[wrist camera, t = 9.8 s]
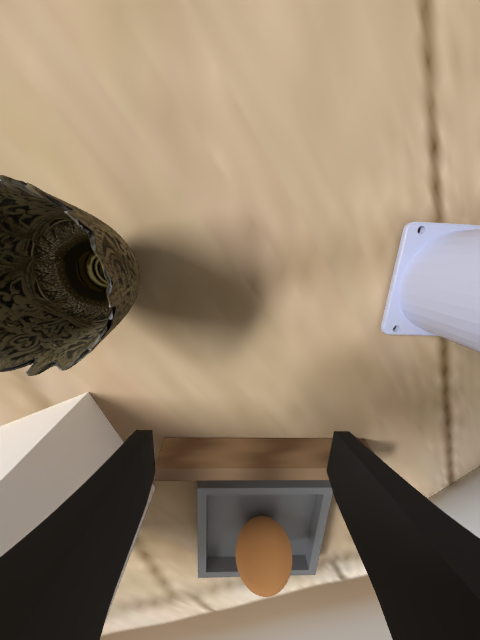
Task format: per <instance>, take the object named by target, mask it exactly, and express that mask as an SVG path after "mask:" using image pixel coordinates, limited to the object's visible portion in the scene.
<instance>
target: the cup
mask: <svg viewBox="0 0 480 640" xmlns="http://www.w3.org/2000/svg"><path fill="white" fill-rule="evenodd" d="M0 180H1V181H0V372H6V371H11V370H15V369H19V368H22V367H25V366H27V365H32V363H33V365H32V366H31V367H30V369H29V370H28V371H26V373H27V375H28V376H33V375H37V374H40V373H42V372H44V371H45V370H47V369H49V368H50V367H52V366H57V367H58V368H59V370H67V369H69V368H71V367H72V366H74V365H75V364H77V363H78V362H79V361H80V360H82V359H83V358H84V357H85V356H86V355H87V354H89V353H90V352H91V351H92V350H93V349H94V348H95V347H96V346H97V345H98V344H99V343H100V342H101V341H102V340H103V339H104V338H105V337H106V336H107V335H108V334H109V333H110V332H111V331H112V330H113V329H114V328H115V327H116V326H117V325H118V324H119V323H120V322H121V321H122V319H123V318H124V317H125V316H126V314H127V313H128V312H129V310H130V309H131V307H132V306H133V304H134V301H135V299H136V297H137V294H138V289H139V271H138V266H137V262H136V260H135V257H134V255H133V253H132V251H131V249H130V248H129V246H128V245H127V243H126V242H125V241H124V240H123V238H122V237H121V236H120V235H119V234H118V233H117V232H116V231H114V230H113V229H112V228H111V227H110V226H108V225H107V224H105V223H104V222H102V221H101V220H99V219H98V218H96V217H94V216H92V215H91V214H89V213H87V212H85V211H83V210H81V209H79V208H77V207H75V206H73V205H71V204H69V203H67V202H65V201H62V200H60V199H58V198H56V197H54V196H52V195H50V194H47V193H45V192H43V191H42V190H40V189H39V188H37V187H35V186H33V185H32V184H29V183H25V182H23V181H18V180H15V179H12V178H10V177H7V176H4V175H0ZM99 263H101V265H102V268H103V272H104V276H105V278H106V279H104V278H103V277H102V276H101V274H100V273H99V269H98V266H99Z"/></svg>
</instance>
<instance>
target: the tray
mask: <svg viewBox="0 0 480 640" xmlns="http://www.w3.org/2000/svg"><path fill="white" fill-rule="evenodd" d="M332 495H333V490H332V487H331V484H330V481H329V480H210V481H198V485H197V529H198V578H208V577H240V574H239V572H238V569H237V564H236V556H235V553H236V543H237V539H238V536H239V533H240V531H241V529H242V528H243V526H244V525H245V524H246V523H247V522H248V521H249V520H250V519H252V518H254V517H257V516H267V517H270V518H272V519H274V520H275V521H276V522H278V523H279V524H280V525H281V527H282V528H283V529H284V531H285V532H286V534H287V536H288V539H289V541H290V545H291V550H292V568H291V573H290V575H315V574H316V569H317V564H318V560H319V555H320V550H321V546H322V541H323V536H324V532H325V527H326V522H327V518H328V513H329V509H330V504H331V499H332Z"/></svg>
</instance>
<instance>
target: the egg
mask: <svg viewBox="0 0 480 640" xmlns="http://www.w3.org/2000/svg"><path fill="white" fill-rule="evenodd" d="M235 556H236V564H237V569H238V572H239V574H240V577H241V579H242V581H243V582H244V584H245V585H246V586H247V588H248V589H249V590H250V591H252V592H253V593H255V594H256V595H259V596H263V597H270V596H273V595H275V594H277V593H279V592H280V591H281V590H282V589H283V588H284V586H285V585H286V583H287V581H288V579H289V577H290V573H291V568H292V550H291V545H290V541H289V539H288V536H287V534H286V532H285V531H284V529H283V528H282V527H281V525H280V524H279V523H278V522H276V521H275V520H274V519H272V518H270V517H267V516H257V517H254V518H252V519H250V520H249V521H248V522H247V523H246V524H245V525H244V526H243V528H242V529H241V531H240V533H239V536H238V539H237V543H236V553H235Z"/></svg>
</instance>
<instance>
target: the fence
mask: <svg viewBox="0 0 480 640" xmlns="http://www.w3.org/2000/svg"><path fill="white" fill-rule="evenodd" d="M332 440H333V439H314V438H165V440H164V442H163V445H162V448H161V451H160V454H159V457H158V460H157V462H156V465H155V481H210V480H329V478H328V474H327V471H326V470H327V465H328V460H329V455H330V450H331V445H332ZM358 440H359V441H361V442H362V443H363V444H364V445H365V446H366V447H367V448H369V449H370V450H371V448H370V447H369V445H368V444H367V443H366V441H365V440H364V439H358ZM371 451H372V450H371ZM372 452H373V451H372ZM373 453H374V452H373Z"/></svg>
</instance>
